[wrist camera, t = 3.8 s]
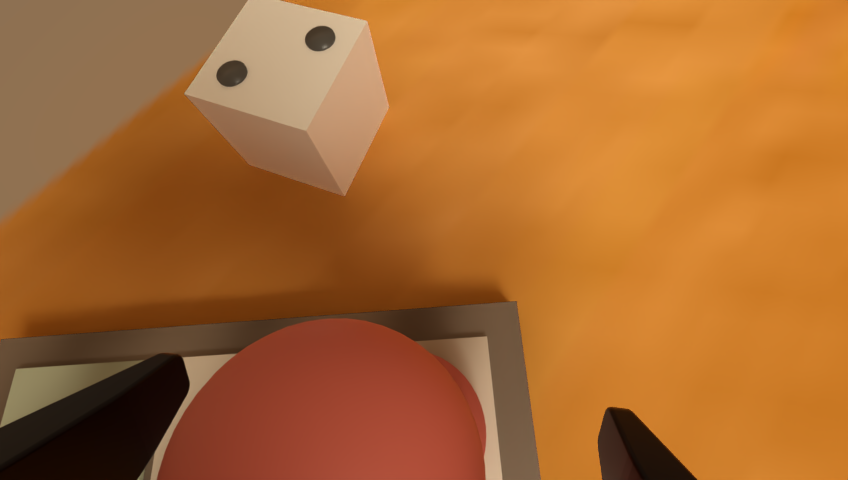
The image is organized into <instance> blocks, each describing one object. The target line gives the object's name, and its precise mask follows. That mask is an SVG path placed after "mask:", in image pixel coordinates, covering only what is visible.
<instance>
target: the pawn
mask: <svg viewBox="0 0 848 480" xmlns="http://www.w3.org/2000/svg"><path fill="white" fill-rule="evenodd" d="M485 448H486V424H485V418H484V413H483V410H482V406H481V403H480V401H479V399H478V396H477V394H476V392H475V391H474V389H473V387H472V385H471V384H470V383H469V381H468V380H467V379H466V377H465V376H464V375H463V374H462V373H461V372H460V371H459V370H458V369H457V368H456V367H454V366H453V365H452V364H451V363H449V362H448V361H446V360H444V359H443V358H441V357H438V356H436V355H434V354H431V353H429V352H428V351H427V350H426V349H424V348H423V347H422V346H421V345H419V344H418V343H417V342H415V341H413V340H411V339H410V338H408V337H406V336H405V335H403V334H401V333H399V332H397V331H394V330H392V329H390V328H387V327H385V326H383V325H379V324H375V323H372V322H368V321H363V320H356V319H348V318H341V319H320V320H313V321H306V322H302V323H299V324H295V325H291V326H288V327H285V328H283V329H280V330H278V331H276V332H273V333H271V334H269V335H267V336H265V337H263V338H261V339H259V340H258V341H256V342H254V343H252V344H251V345H249V346H247V347H246V348H244V349H243V350H242V351H240V352H239V353H237V354H236V355H235V356H233V357H232V358H231V359H230V360H228V361H227V362H226V363H225V364H224V365H223V366H222V367H221V368H220V369H219V370H218V371H216V372H215V374H214V375H213V376H212V377H211V378H210V379H209V380H208V382H207V383H206V384H205V385H204V386H203V387H202V388H201V390H200V391H199V392H198V393H197V394H196V396H195V397H194V399H193V400H192V401H191V403H190V404H189V406H188V407H187V408H186V410H185V411H184V413H183V415H182V417H181V419H180V420H179V422H178V424H177V426H176V428H175V429H174V431H173V434H172V436H171V438H170V441H169V443H168V445H167V448H166V450H165V453H164V456H163V459H162V462H161V466H160V469H159V472H158V476H157V480H486V478H485V462H484V454H485Z"/></svg>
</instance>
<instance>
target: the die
mask: <svg viewBox="0 0 848 480" xmlns="http://www.w3.org/2000/svg"><path fill="white" fill-rule="evenodd" d="M184 94H185V96H186V97H187V98H188V99H189V100H190V101H191V102H192V103H193V104H194V105H195V106H196V108H197V109H198V110H199V111H200V112H201V113H202V114H203V115H204V116H205V117H206V118H207V119H208V121H209V122H210V123H211V124H212V125H213V126H214V127H215V128H216V129H217V130H218V131H219V133H220V134H221V135H222V136H223V137H224V138H225V139H226V140H227V141H228V142H229V143H230V145H231V146H232V147H233V148H234V149H235V150H236V151H237V152H238V153H239V154H240V155H241V157H242V158H243V159H244V160H245V161H246V162H247V163H248V164H249V165H251V166H254V167H257V168H260V169H263V170H266V171H269V172H272V173H275V174H278V175H281V176H284V177H287V178H290V179H293V180H296V181H299V182H302V183H305V184H308V185H311V186H314V187H317V188H320V189H323V190H326V191H329V192H332V193H335V194H338V195H341V196H344V197H345V195H346V193H347V191H348V189H349V187H350V185H351V183H352V181H353V179H354V177H355V175H356V173H357V171H358V169H359V167H360V165H361V163H362V161H363V159H364V157H365V155H366V153H367V151H368V149H369V147H370V145H371V143H372V141H373V139H374V137H375V135H376V133H377V131H378V129H379V127H380V125H381V123H382V121H383V119H384V117H385V115H386V113H387V111H388V109H389V105H388V101H387V97H386V93H385V89H384V85H383V81H382V77H381V73H380V69H379V65H378V61H377V57H376V53H375V49H374V45H373V42H372V38H371V34H370V30H369V26H368V22H367V21H365V20H361V19H356V18H352V17H348V16H344V15H339V14H335V13H331V12H327V11H322V10H318V9H314V8H310V7H305V6H301V5H297V4H292V3H288V2H284V1H280V0H248V1H247V3H246V4H245V5H244V7H243V9H242V10H241V11H240V13H239V14H238V16H237V17H236V19H235V20H234V22H233V23H232V24H231V26H230V27H229V29H228V30H227V32H226V33H225V35H224V36H223V38H222V39H221V40H220V42H219V43H218V45H217V46H216V48H215V49H214V51H213V52H212V54H211V55H210V57H209V58H208V59H207V61H206V62H205V64H204V65H203V67H202V68H201V70H200V71H199V73H198V74H197V76H196V77H195V78H194V80H193V81H192V83H191V84H190V86H189V87H188V89H187V90H186V92H185V93H184Z"/></svg>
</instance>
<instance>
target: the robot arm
mask: <svg viewBox="0 0 848 480" xmlns="http://www.w3.org/2000/svg"><path fill="white" fill-rule="evenodd" d="M189 388H190V381H189V377H188V374H187V370H186V367H185V363H184V360H183V358H182V356H181V355H179V354H173V353H159V354H157V355H155V356H153V357H150V358H148V359H146V360H144V361H142V362H140V363H138V364H135V365H133V366H131V367H129V368H127V369H125V370H123V371H120V372H118V373H116V374H114V375H112V376H110V377H108V378H105V379H103V380H101V381H99V382H97V383H95V384H92V385H90V386H88V387H86V388H84V389H82V390H80V391H77V392H75V393H73V394H71V395H69V396H67V397H65V398H62V399H60V400H58V401H56V402H54V403H52V404H50V405H47V406H45V407H43V408H41V409H39V410H37V411H35V412H32V413H30V414H28V415H26V416H24V417H22V418H20V419H17V420H15V421H13V422H11V423H9V424H7V425H5V426H2V427H0V480H137V479H138V478H139V476H140V475H141V473H142V472H143V470H144V469H145V467H146V466H147V464H148V463H149V461H150V460H151V458H152V456H153V455H154V453H155V451H156V450H157V448H158V446H159V444H160V442H161V441H162V439H163V437H164V435H165V433H166V432H167V430H168V428H169V426H170V425H171V423H172V421H173V419H174V417H175V416H176V414H177V412H178V410H179V408H180V407H181V405H182V403H183V401H184V399H185V398H186V396H187V394H188V391H189ZM598 451H599V458H600V465H601V472H602V479H603V480H697V479H696V478H695V477H694V476H693V475H692V473H691V472H690V471H689V470H688V469H687V468H686V467H685V466H684V465H683V464H682V463H681V462H680V461H679V460H678V459H677V458H676V457H675V456H674V455H673V454H672V453H671V451H670V450H669V449H668V448H667V447H666V446H665V445H664V444H663V443H662V442H661V441H660V440H659V439H658V438H657V437H656V436H655V435H654V434H653V433H652V432H651V431H650V429H649V428H648V427H647V426H646V425H645V424H644V423H643V422H642V421H641V420H640V419H639V418H638V417H637V416H636V415H635V414H634V413H633V412H632V411H631V410H629V409H625V408H617V407H608V408H607V409H606V411H605V414H604V418H603V421H602V425H601V429H600V432H599V436H598Z"/></svg>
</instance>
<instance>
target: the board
mask: <svg viewBox="0 0 848 480" xmlns="http://www.w3.org/2000/svg"><path fill="white" fill-rule="evenodd" d="M341 318H348V319H356V320H363V321H368V322H372V323H375V324H379V325H383V326H385V327H387V328H390V329H392V330H394V331H397V332H399V333H401V334H403V335H405V336H406V337H408V338H410V339H411V340H413V341H415V342H417V343H418V344H419V345H421V346H422V347H423V348H424V349H426V350H427V351H428V352H429V353H431V354H434V355H436V356H438V357H441V358H443V359H444V360H446V361H448V362H449V363H451V364H452V365H453V366H454V367H456V368H457V369H458V370H459V371H460V372H461V373H462V374H463V375H464V376H465V377H466V379H467V380H468V381H469V383H470V384H471V385H472V387H473V389H474V391H475V392H476V394H477V396H478V399H479V401H480V403H481V406H482V410H483V413H484V418H485V424H486V448H485V454H484V462H485V478H486V480H541V478H540V470H539V463H538V456H537V448H536V441H535V434H534V426H533V419H532V412H531V404H530V397H529V390H528V382H527V375H526V367H525V360H524V353H523V345H522V338H521V331H520V323H519V316H518V309H517V301H513V302H499V303H486V304H472V305H459V306H445V307H432V308H418V309H405V310H391V311H378V312H364V313H350V314H337V315H323V316H310V317H296V318H283V319H269V320H256V321H242V322H229V323H215V324H202V325H188V326H175V327H161V328H148V329H134V330H121V331H107V332H94V333H80V334H67V335H53V336H40V337H26V338H13V339H1V341H0V427H2V426H5V425H7V424H9V423H11V422H13V421H15V420H17V419H20V418H22V417H24V416H26V415H28V414H30V413H32V412H35V411H37V410H39V409H41V408H43V407H45V406H47V405H50V404H52V403H54V402H56V401H58V400H60V399H62V398H65V397H67V396H69V395H71V394H73V393H75V392H77V391H80V390H82V389H84V388H86V387H88V386H90V385H92V384H95V383H97V382H99V381H101V380H103V379H105V378H108V377H110V376H112V375H114V374H116V373H118V372H120V371H123V370H125V369H127V368H129V367H131V366H133V365H135V364H138V363H140V362H142V361H144V360H146V359H148V358H150V357H153V356H155V355H157V354H159V353H173V354H179V355H181V356H182V358H183V360H184V363H185V367H186V370H187V374H188V377H189V381H190V388H189V391H188V394H187V396H186V398H185V399H184V401H183V403H182V405H181V407H180V408H179V410H178V412H177V414H176V416H175V417H174V419H173V421H172V423H171V425H170V426H169V428H168V430H167V432H166V433H165V435H164V437H163V439H162V441H161V442H160V444H159V446H158V448H157V450H156V451H155V453H154V455H153V456H152V458H151V460H150V461H149V463H148V464H147V466H146V467H145V469H144V470H143V472H142V473H141V475H140V476H139V478H138V479H137V480H157V476H158V472H159V469H160V466H161V462H162V459H163V456H164V453H165V450H166V448H167V445H168V443H169V441H170V438H171V436H172V434H173V431H174V429H175V428H176V426H177V424H178V422H179V420H180V419H181V417H182V415H183V413H184V411H185V410H186V408H187V407H188V406H189V404H190V403H191V401H192V400H193V399H194V397H195V396H196V394H197V393H198V392H199V391H200V390H201V388H202V387H203V386H204V385H205V384H206V383H207V382H208V380H209V379H210V378H211V377H212V376H213V375H214V374H215V372H216V371H218V370H219V369H220V368H221V367H222V366H223V365H224V364H225V363H226V362H227V361H228V360H230V359H231V358H232V357H233V356H235V355H236V354H237V353H239V352H240V351H242V350H243V349H244V348H246V347H247V346H249V345H251V344H252V343H254V342H256V341H258V340H259V339H261V338H263V337H265V336H267V335H269V334H271V333H273V332H276V331H278V330H280V329H283V328H285V327H288V326H291V325H295V324H299V323H302V322H306V321H313V320H320V319H341Z"/></svg>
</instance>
